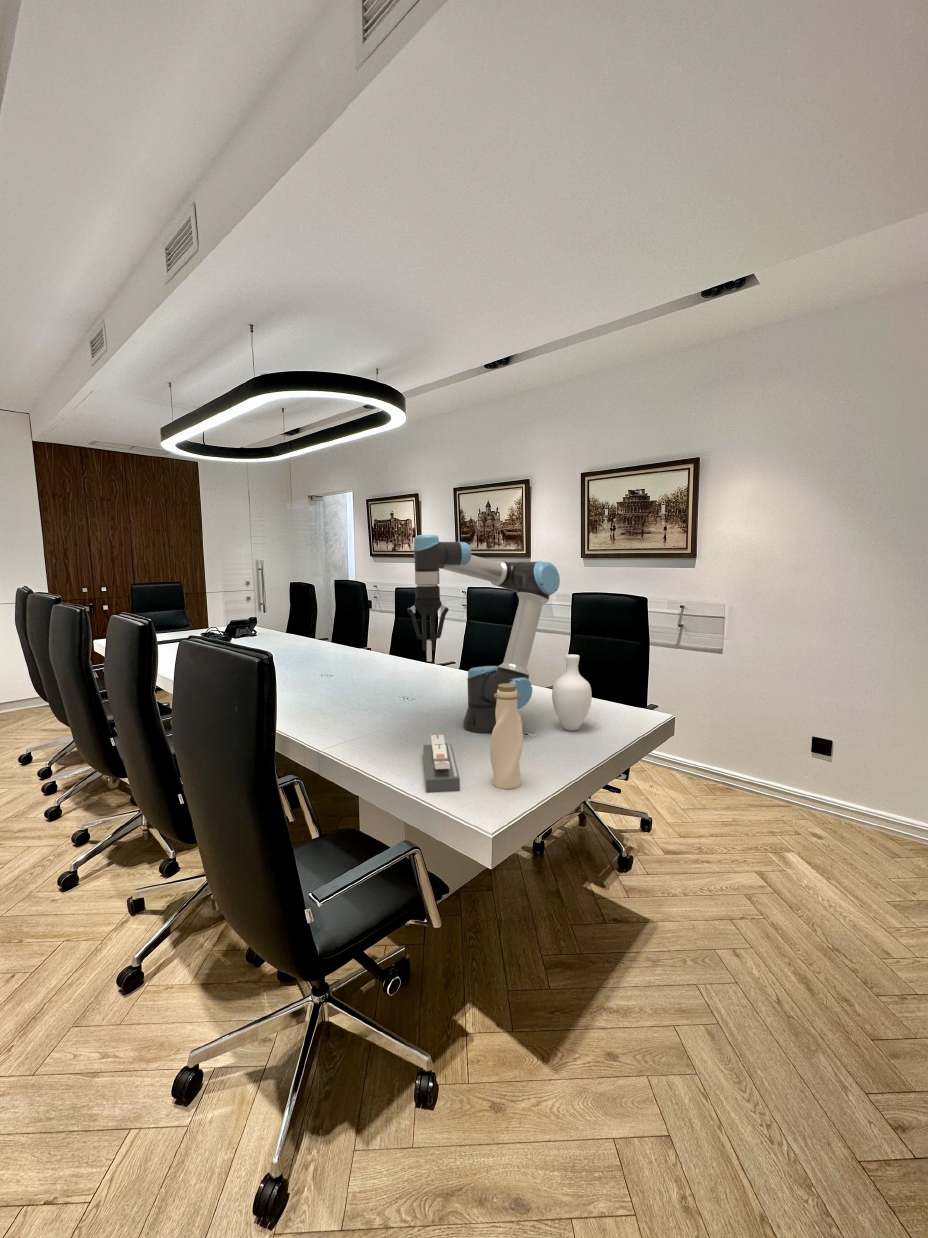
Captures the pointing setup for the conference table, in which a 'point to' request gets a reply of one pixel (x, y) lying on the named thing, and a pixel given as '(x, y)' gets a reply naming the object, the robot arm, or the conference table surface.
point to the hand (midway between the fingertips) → (429, 660)
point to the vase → (571, 695)
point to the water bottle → (506, 739)
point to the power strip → (440, 772)
